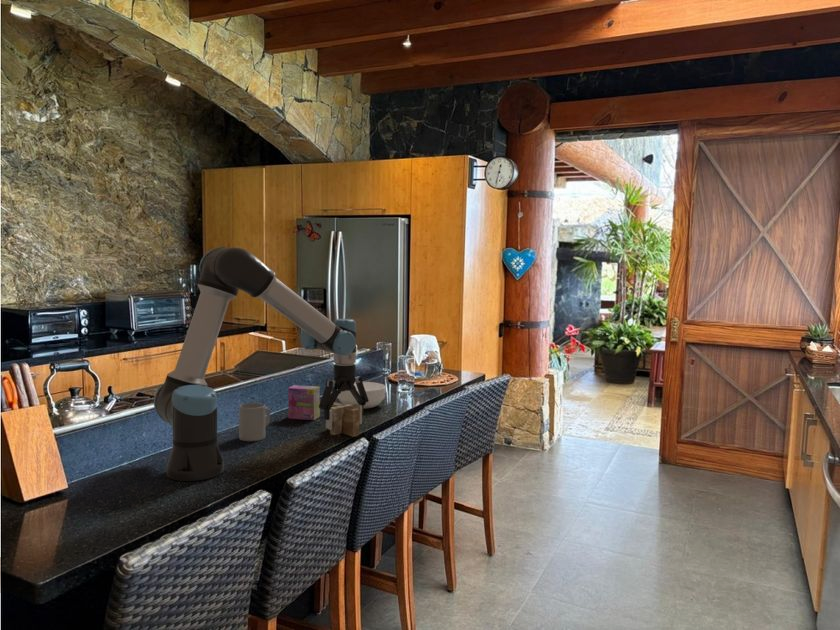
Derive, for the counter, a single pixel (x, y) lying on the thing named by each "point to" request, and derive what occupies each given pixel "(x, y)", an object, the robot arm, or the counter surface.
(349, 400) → the bowl
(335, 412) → the notched wooden horseshoe piece
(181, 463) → the robot arm
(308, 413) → the box
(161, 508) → the counter surface
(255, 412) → the mug
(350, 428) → the notched wooden block
